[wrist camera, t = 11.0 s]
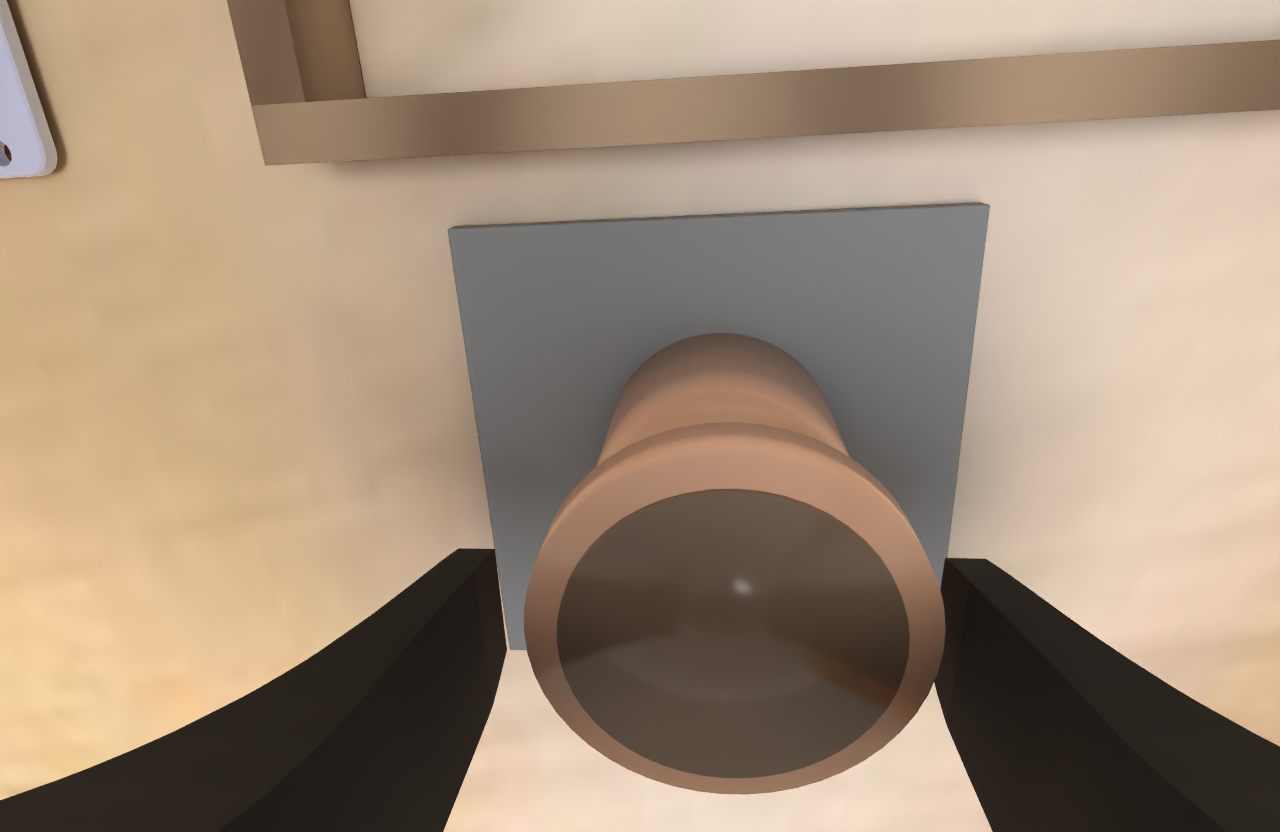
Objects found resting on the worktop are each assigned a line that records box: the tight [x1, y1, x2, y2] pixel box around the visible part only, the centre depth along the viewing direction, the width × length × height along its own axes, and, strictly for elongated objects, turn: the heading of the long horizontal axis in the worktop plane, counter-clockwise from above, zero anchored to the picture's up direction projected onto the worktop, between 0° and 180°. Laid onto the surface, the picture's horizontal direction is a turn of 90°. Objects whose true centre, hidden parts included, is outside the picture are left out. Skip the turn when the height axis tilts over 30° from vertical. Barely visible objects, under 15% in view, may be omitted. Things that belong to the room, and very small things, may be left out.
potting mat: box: [448, 203, 990, 650], centre depth 17 cm, size 11×11×1 cm
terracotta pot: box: [524, 333, 946, 794], centre depth 13 cm, size 6×6×7 cm
